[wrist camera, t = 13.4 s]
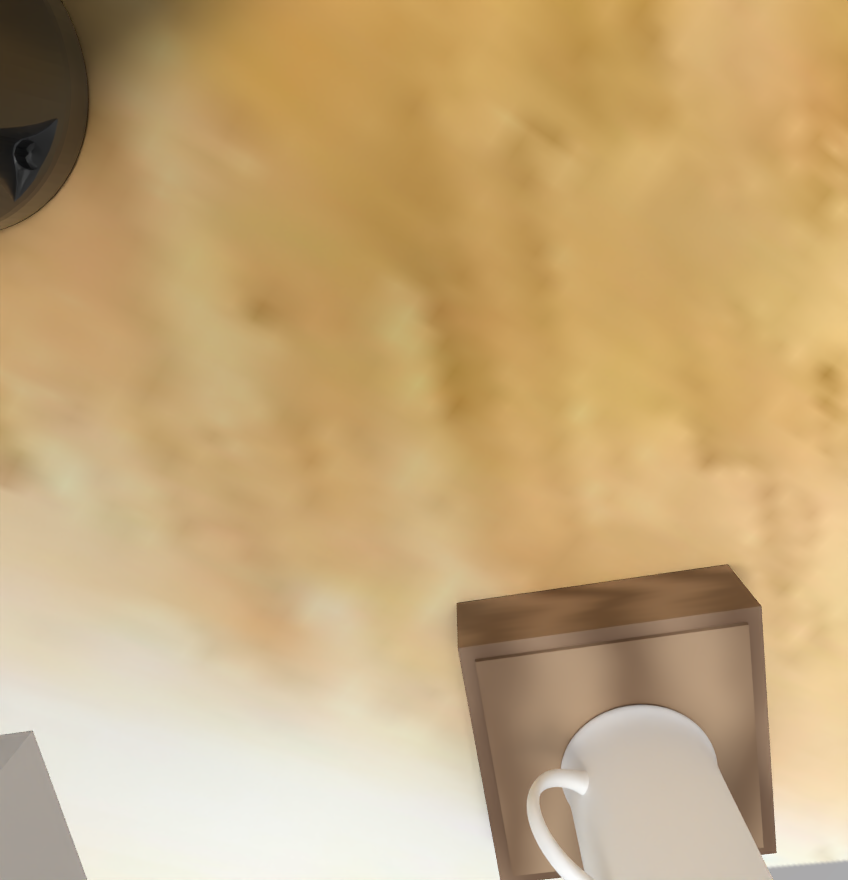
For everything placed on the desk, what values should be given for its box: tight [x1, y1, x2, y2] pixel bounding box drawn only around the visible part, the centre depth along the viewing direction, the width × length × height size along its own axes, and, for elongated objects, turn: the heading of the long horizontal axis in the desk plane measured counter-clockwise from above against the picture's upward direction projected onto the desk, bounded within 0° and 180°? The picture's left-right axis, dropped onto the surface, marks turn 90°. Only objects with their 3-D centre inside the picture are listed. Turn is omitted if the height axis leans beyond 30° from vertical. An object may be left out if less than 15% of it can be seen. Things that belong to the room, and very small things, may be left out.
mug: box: [527, 705, 773, 880], centre depth 36 cm, size 12×8×12 cm
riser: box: [457, 565, 776, 880], centre depth 45 cm, size 16×16×5 cm
